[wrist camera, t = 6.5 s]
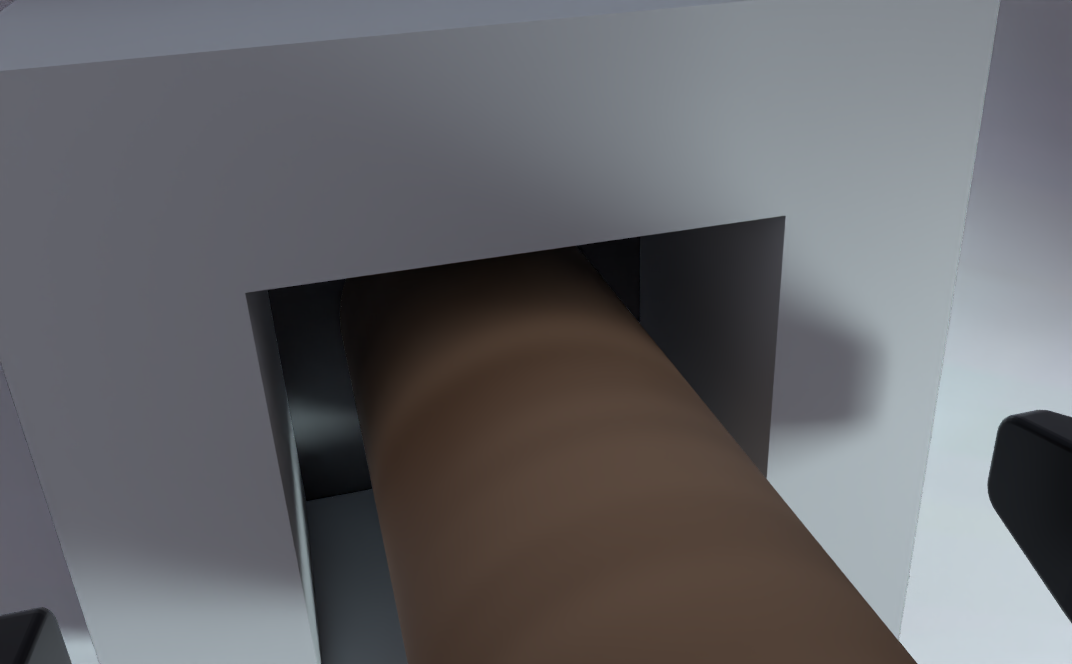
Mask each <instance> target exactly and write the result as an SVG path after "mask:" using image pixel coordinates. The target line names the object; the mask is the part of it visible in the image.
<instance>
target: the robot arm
mask: <svg viewBox="0 0 1072 664" xmlns="http://www.w3.org/2000/svg"><path fill="white" fill-rule="evenodd" d="M987 485H988V494H989V498H990V501H991V503H992V506H993V508H994V509H995V511H996V512H997V514H998V515H999V517H1000V518H1001V520H1002V521H1003V523H1004V524H1005V526H1006V527H1007V529H1008V530H1009V532H1010V533H1011V535H1012V536H1013V538H1014V539H1015V541H1016V542H1017V544H1018V545H1019V547H1020V548H1021V550H1022V551H1023V552H1024V554H1025V555H1026V557H1027V558H1028V560H1029V561H1030V563H1031V564H1032V566H1033V567H1034V569H1035V570H1036V572H1037V573H1038V575H1039V576H1040V578H1041V579H1042V581H1043V582H1044V584H1045V585H1046V587H1047V588H1048V590H1049V591H1050V593H1051V594H1052V596H1053V597H1054V598H1055V600H1056V601H1057V603H1058V604H1059V606H1060V607H1061V609H1062V610H1063V612H1064V613H1065V615H1066V616H1067V617H1068V619H1069V620H1070V622H1071V623H1072V417H1069V416H1066V415H1062V414H1059V413H1055V412H1052V411H1048V410H1035V411H1030V412H1025V413H1020V414H1015V415H1010V416H1008V417H1007V418H1005V419H1004V420H1003V421H1002V422H1001V424H1000V425H999V428H998V431H997V436H996V441H995V446H994V451H993V456H992V462H991V467H990V472H989V477H988V484H987ZM0 664H72V663H71V660H70V657H69V654H68V651H67V649H66V646H65V643H64V640H63V637H62V634H61V631H60V628H59V626H58V623H57V620H56V618H55V616H54V615H53V613H52V612H51V611H50V610H48V609H46V608H43V607H40V608H35V609H30V610H24V611H19V612H14V613H9V614H4V615H1V616H0Z"/></svg>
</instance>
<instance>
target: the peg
mask: <svg viewBox="0 0 1072 664" xmlns="http://www.w3.org/2000/svg"><path fill="white" fill-rule="evenodd" d="M340 328H341V334H342V339H343V344H344V349H345V354H346V359H347V364H348V369H349V374H350V379H351V384H352V389H353V394H354V399H355V404H356V409H357V414H358V419H359V424H360V429H361V434H362V439H363V444H364V449H365V453H366V458H367V463H368V468H369V473H370V478H371V483H372V488H373V493H374V498H375V503H376V508H377V513H378V518H379V523H380V528H381V533H382V538H383V543H384V548H385V553H386V558H387V563H388V568H389V573H390V578H391V583H392V588H393V593H394V598H395V603H396V608H397V613H398V617H399V622H400V627H401V632H402V637H403V642H404V647H405V652H406V657H407V662H408V664H917V663H916V661H915V660H914V659H913V658H912V656H911V655H910V654H909V653H908V652H907V650H906V649H905V648H904V647H903V645H902V644H901V643H900V642H899V641H898V639H897V638H896V637H895V636H894V634H893V633H892V632H891V631H890V630H889V628H888V627H887V626H886V625H885V623H884V622H883V621H882V620H881V619H880V617H879V616H878V615H877V614H876V612H875V611H874V610H873V609H872V607H871V606H870V605H869V604H868V603H867V601H866V600H865V599H864V598H863V596H862V595H861V594H860V593H859V592H858V590H857V589H856V588H855V587H854V585H853V584H852V583H851V582H850V581H849V579H848V578H847V577H846V576H845V574H844V573H843V572H842V571H841V569H840V568H839V567H838V566H837V565H836V563H835V562H834V561H833V560H832V558H831V557H830V556H829V555H828V554H827V552H826V551H825V550H824V549H823V547H822V546H821V545H820V544H819V543H818V541H817V540H816V539H815V538H814V536H813V535H812V534H811V533H810V532H809V530H808V529H807V528H806V527H805V525H804V524H803V523H802V522H801V520H800V519H799V518H798V517H797V516H796V514H795V513H794V512H793V511H792V509H791V508H790V507H789V506H788V505H787V503H786V502H785V501H784V500H783V498H782V497H781V496H780V495H779V494H778V492H777V491H776V490H775V489H774V487H773V486H772V485H771V484H770V482H769V481H768V480H767V479H766V478H765V476H764V475H763V474H762V473H761V471H760V470H759V469H758V468H757V467H756V465H755V464H754V463H753V462H752V460H751V459H750V458H749V457H748V456H747V454H746V453H745V452H744V451H743V449H742V448H741V447H740V446H739V445H738V443H737V442H736V441H735V440H734V438H733V437H732V436H731V435H730V433H729V432H728V431H727V430H726V429H725V427H724V426H723V425H722V424H721V422H720V421H719V420H718V419H717V418H716V416H715V415H714V414H713V413H712V411H711V410H710V409H709V408H708V407H707V405H706V404H705V403H704V402H703V400H702V399H701V398H700V397H699V395H698V394H697V393H696V392H695V391H694V389H693V388H692V387H691V386H690V384H689V383H688V382H687V381H686V380H685V378H684V377H683V376H682V375H681V373H680V372H679V371H678V370H677V369H676V367H675V366H674V365H673V364H672V362H671V361H670V360H669V359H668V358H667V356H666V355H665V354H664V353H663V351H662V350H661V349H660V348H659V346H658V345H657V344H656V343H655V342H654V340H653V339H652V338H651V337H650V335H649V334H648V333H647V332H646V331H645V329H644V328H643V327H642V326H641V324H640V323H639V322H638V321H637V320H636V318H635V317H634V316H633V315H632V313H631V312H630V311H629V310H628V308H627V307H626V306H625V305H624V304H623V302H622V301H621V300H620V299H619V297H618V296H617V295H616V294H615V293H614V291H613V290H612V289H611V288H610V286H609V285H608V284H607V283H606V282H605V280H604V279H603V278H602V277H601V275H600V274H599V273H598V272H597V271H596V269H595V268H594V267H593V266H592V264H591V263H590V262H589V261H588V259H587V258H586V257H585V256H584V255H583V253H582V252H581V251H580V250H579V248H578V247H577V246H569V247H562V248H555V249H548V250H541V251H534V252H527V253H520V254H513V255H506V256H499V257H492V258H485V259H478V260H471V261H464V262H457V263H450V264H443V265H436V266H429V267H422V268H415V269H408V270H401V271H394V272H387V273H380V274H373V275H366V276H359V277H352V278H346V280H345V282H344V286H343V291H342V295H341V301H340Z"/></svg>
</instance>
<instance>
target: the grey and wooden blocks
mask: <svg viewBox="0 0 1072 664" xmlns="http://www.w3.org/2000/svg"><path fill="white" fill-rule="evenodd" d="M999 6H1000V0H15V1H14V2H13V3H11V4H10V5H8V6H7V7H6V8H4V9H3V10H2V11H0V362H1V365H2V368H3V371H4V374H5V378H6V381H7V384H8V387H9V390H10V393H11V396H12V399H13V402H14V405H15V408H16V411H17V414H18V417H19V420H20V423H21V426H22V429H23V432H24V435H25V438H26V442H27V445H28V448H29V451H30V454H31V457H32V460H33V463H34V466H35V469H36V472H37V475H38V478H39V481H40V484H41V487H42V490H43V493H44V496H45V499H46V502H47V506H48V509H49V512H50V515H51V518H52V521H53V524H54V527H55V530H56V533H57V536H58V539H59V542H60V545H61V548H62V551H63V554H64V557H65V560H66V563H67V566H68V570H69V573H70V576H71V579H72V582H73V585H74V588H75V591H76V594H77V597H78V600H79V603H80V606H81V609H82V612H83V615H84V618H85V621H86V624H87V627H88V630H89V634H90V637H91V640H92V643H93V646H94V649H95V652H96V655H97V658H98V661H99V664H408V662H407V657H406V652H405V647H404V642H403V637H402V632H401V627H400V622H399V617H398V613H397V608H396V603H395V598H394V593H393V588H392V583H391V578H390V573H389V568H388V563H387V558H386V553H385V548H384V543H383V538H382V533H381V528H380V523H379V518H378V513H377V508H376V503H375V498H374V493H373V489H370V490H364V491H359V492H354V493H348V494H343V495H338V496H332V497H327V498H322V499H316V500H311V501H306V497H305V491H304V486H303V481H302V475H301V470H300V464H299V459H298V453H297V448H296V442H295V437H294V431H293V426H292V421H291V415H290V410H289V404H288V399H287V393H286V388H285V382H284V377H283V371H282V366H281V361H280V355H279V350H278V344H277V339H276V333H275V328H274V322H273V317H272V311H271V306H270V301H269V295H268V290H269V289H276V288H283V287H290V286H296V285H303V284H310V283H317V282H324V281H331V280H338V279H345V278H352V277H359V276H366V275H373V274H380V273H387V272H394V271H401V270H408V269H415V268H422V267H429V266H436V265H443V264H450V263H457V262H464V261H471V260H478V259H485V258H492V257H499V256H506V255H513V254H520V253H527V252H534V251H541V250H548V249H555V248H562V247H569V246H576V245H583V244H590V243H597V242H604V241H611V240H618V239H625V238H632V237H639V236H640V324H641V326H642V327H643V328H644V329H645V331H646V332H647V333H648V334H649V335H650V337H651V338H652V339H653V340H654V342H655V343H656V344H657V345H658V346H659V348H660V349H661V350H662V351H663V353H664V354H665V355H666V356H667V358H668V359H669V360H670V361H671V362H672V364H673V365H674V366H675V367H676V369H677V370H678V371H679V372H680V373H681V375H682V376H683V377H684V378H685V380H686V381H687V382H688V383H689V384H690V386H691V387H692V388H693V389H694V391H695V392H696V393H697V394H698V395H699V397H700V398H701V399H702V400H703V402H704V403H705V404H706V405H707V407H708V408H709V409H710V410H711V411H712V413H713V414H714V415H715V416H716V418H717V419H718V420H719V421H720V422H721V424H722V425H723V426H724V427H725V429H726V430H727V431H728V432H729V433H730V435H731V436H732V437H733V438H734V440H735V441H736V442H737V443H738V445H739V446H740V447H741V448H742V449H743V451H744V452H745V453H746V454H747V456H748V457H749V458H750V459H751V460H752V462H753V463H754V464H755V465H756V467H757V468H758V469H759V470H760V471H761V473H762V474H763V475H764V476H765V478H766V479H767V480H768V481H769V482H770V484H771V485H772V486H773V487H774V489H775V490H776V491H777V492H778V494H779V495H780V496H781V497H782V498H783V500H784V501H785V502H786V503H787V505H788V506H789V507H790V508H791V509H792V511H793V512H794V513H795V514H796V516H797V517H798V518H799V519H800V520H801V522H802V523H803V524H804V525H805V527H806V528H807V529H808V530H809V532H810V533H811V534H812V535H813V536H814V538H815V539H816V540H817V541H818V543H819V544H820V545H821V546H822V547H823V549H824V550H825V551H826V552H827V554H828V555H829V556H830V557H831V558H832V560H833V561H834V562H835V563H836V565H837V566H838V567H839V568H840V569H841V571H842V572H843V573H844V574H845V576H846V577H847V578H848V579H849V581H850V582H851V583H852V584H853V585H854V587H855V588H856V589H857V590H858V592H859V593H860V594H861V595H862V596H863V598H864V599H865V600H866V601H867V603H868V604H869V605H870V606H871V607H872V609H873V610H874V611H875V612H876V614H877V615H878V616H879V617H880V619H881V620H882V621H883V622H884V623H885V625H886V626H887V627H888V628H889V630H890V631H891V632H892V633H893V634H894V636H895V637H896V638H897V639H898V641H899V636H900V630H901V623H902V617H903V611H904V604H905V598H906V592H907V586H908V579H909V573H910V567H911V560H912V554H913V548H914V542H915V535H916V529H917V523H918V516H919V510H920V504H921V497H922V491H923V485H924V479H925V472H926V466H927V460H928V453H929V447H930V441H931V434H932V428H933V422H934V416H935V409H936V403H937V397H938V390H939V384H940V378H941V372H942V365H943V359H944V353H945V346H946V340H947V334H948V327H949V321H950V315H951V309H952V302H953V296H954V290H955V283H956V277H957V271H958V264H959V258H960V252H961V246H962V239H963V233H964V227H965V220H966V214H967V208H968V202H969V195H970V189H971V183H972V176H973V170H974V164H975V157H976V151H977V145H978V139H979V132H980V126H981V120H982V113H983V107H984V101H985V94H986V88H987V82H988V76H989V69H990V63H991V57H992V50H993V44H994V38H995V32H996V25H997V19H998V13H999Z"/></svg>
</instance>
